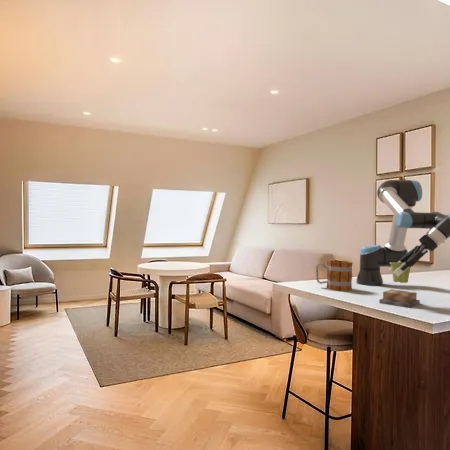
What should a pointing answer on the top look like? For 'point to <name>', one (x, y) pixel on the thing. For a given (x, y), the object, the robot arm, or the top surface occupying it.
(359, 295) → the top surface
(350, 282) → the mug
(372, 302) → the top surface
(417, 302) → the plinth
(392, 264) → the plant pot
